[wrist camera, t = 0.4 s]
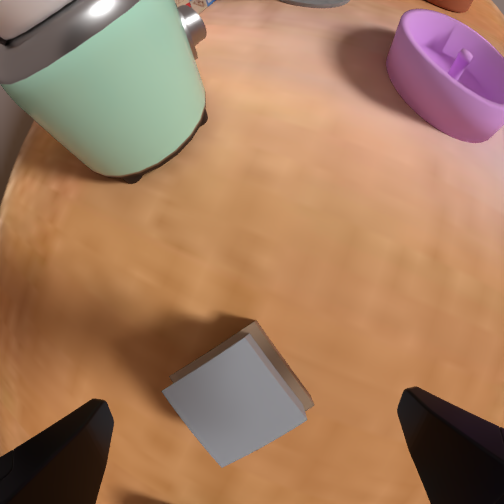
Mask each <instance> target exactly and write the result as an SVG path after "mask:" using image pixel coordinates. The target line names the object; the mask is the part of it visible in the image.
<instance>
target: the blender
mask: <svg viewBox="0 0 504 504" xmlns="http://www.w3.org/2000/svg"><path fill="white" fill-rule="evenodd" d="M205 37H206V28H205V25H204V23H203V21H202V19H201V17H200V16H199V15H198V13H197V12H196V11H195V10H194V9H192V8H191V7H189V6H187V5H181V6H179V7H177V5H176V3H175V1H174V0H0V84H1V86H2V87H3V89H4V90H5V91H6V92H7V94H8V95H9V96H10V97H11V98H12V99H13V100H14V101H15V103H16V104H17V105H18V106H20V107H21V108H22V109H23V110H24V111H25V112H26V113H27V114H28V115H29V116H30V117H32V118H33V119H34V120H35V121H36V122H37V123H38V124H39V125H40V126H42V127H43V128H44V129H45V130H46V131H47V132H48V133H49V134H51V135H52V136H53V137H54V138H55V139H56V140H57V141H58V142H60V143H61V144H62V145H63V146H64V147H65V148H67V149H68V150H69V151H70V152H71V153H72V154H73V155H75V156H76V157H77V158H78V159H79V160H80V161H82V162H83V163H84V164H85V165H86V166H87V167H89V168H90V169H91V170H92V171H94V172H96V173H99V174H101V175H104V176H107V177H110V178H123V179H124V180H125V181H126V182H127V183H130V184H133V183H136V182H138V181H139V180H140V179H141V177H142V175H143V174H145V173H147V172H149V171H152V170H154V169H156V168H158V167H160V166H162V165H163V164H165V163H166V162H168V161H169V160H170V159H172V158H173V157H175V156H176V155H177V154H178V153H179V152H180V151H181V150H182V149H183V148H184V147H185V146H186V145H187V144H188V143H189V142H190V141H191V140H192V138H193V137H194V135H195V133H196V132H197V130H198V128H199V127H200V126H202V125H204V124H205V123H206V122H207V119H208V116H207V112H206V109H205V108H206V98H205V89H204V86H203V83H202V80H201V77H200V74H199V71H198V68H197V65H196V62H195V60H196V59H197V58H198V57H197V52H196V49H195V45H197V44H198V43H199V42H200V41H202V40H203V39H204V38H205Z"/></svg>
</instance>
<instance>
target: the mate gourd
mask: <svg viewBox="0 0 504 504" xmlns="http://www.w3.org/2000/svg"><path fill="white" fill-rule="evenodd" d="M279 1H282V2H285V3H288V4H292V5H296V6H303V7H311V8H332V7H339V6H342V5H345V4H346V3H348V2H349V1H350V0H279Z"/></svg>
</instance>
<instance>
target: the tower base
mask: <svg viewBox="0 0 504 504" xmlns="http://www.w3.org/2000/svg"><path fill="white" fill-rule="evenodd" d="M249 333H250V335H251V336H252V337H253V339H254V340H255V341H256V343H257V344H258V346H259V347H260V348H261V350H262V351H263V352H264V354H265V355H266V357H267V358H268V359H269V361H270V362H271V363H272V365H273V366H274V367H275V369H276V370H277V371H278V373H279V374H280V375H281V377H282V378H283V379H284V381H285V382H286V383H287V385H288V386H289V387H290V388H291V390H292V391H293V392H294V394H295V395H296V396H297V398H298V399H299V400H300V401H301V403H302V404H303V407H304V410H305V411H307V410H308V409H310V408H311V407H313V406H314V403H313V400H312V398H311V396H310V394H309V393H308V391H307V390H306V389H305V387H304V386H303V385H302V383H301V382H300V380H299V379H298V378H297V376H296V375H295V374H294V372H293V371H292V370H291V368H290V367H289V365H288V364H287V363H286V361H285V360H284V358H283V357H282V356H281V354H280V353H279V351H278V350H277V349H276V347H275V346H274V344H273V343H272V342H271V340H270V339H269V337H268V336H267V335H266V333H265V332H264V330H263V329H262V328H261V326H260V325H259V323H258V322H257V320H256V321H254V322H253V323H251V324H250V325H248V326H247V327H245V328H244V329H242V330H241V331H239V332H238V333H236V334H235V335H233V336H232V337H230V338H229V339H227V340H226V341H224V342H223V343H221V344H220V345H218V346H217V347H215V348H214V349H212V350H210V351H209V352H207V353H206V354H204V355H203V356H201V357H199V358H198V359H196V360H195V361H193V362H192V363H190V364H188V365H187V366H185V367H184V368H182V369H180V370H179V371H177V372H175V373H174V374H172V375H171V376H169V377H170V379H171V380H172V382H173V383H175V382H176V381H178V380H179V379H181V378H183V377H184V376H186V375H187V374H189V373H191V372H192V371H194V370H195V369H197V368H198V367H200V366H201V365H203V364H205V363H206V362H208V361H209V360H211V359H212V358H214V357H215V356H217V355H218V354H220V353H221V352H223V351H224V350H226V349H227V348H229V347H230V346H232V345H233V344H235V343H236V342H238V341H239V340H241V339H242V338H243V337H245V336H246V335H248V334H249Z"/></svg>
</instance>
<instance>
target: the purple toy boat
mask: <svg viewBox="0 0 504 504" xmlns="http://www.w3.org/2000/svg"><path fill="white" fill-rule="evenodd" d="M386 67H387V72H388V75H389V78H390V80H391V82H392V84H393V86H394V87H395V89H396V91H397V92H398V93H399V95H400V96H401V97H402V98H403V100H404V101H405V102H406V103H407V104H408V105H409V106H410V107H411V108H412V109H413V110H414V111H415V112H416V113H417V114H418V115H419V116H421V117H422V118H423V119H424V120H425V121H426V122H428V123H429V124H431V125H432V126H434V127H435V128H437V129H438V130H440V131H442V132H443V133H445V134H447V135H449V136H451V137H453V138H456V139H459V140H461V141H465V142H470V143H481V142H484V141H486V140H488V139H489V138H490V137H491V136H493V135H494V134H495V133H496V132H497V131H498V130H499V129H500V128H501V127H502V126H503V125H504V58H503V56H502V55H501V54H500V53H499V52H498V51H497V50H496V49H495V48H494V47H493V46H492V45H491V44H490V43H489V42H488V41H487V40H486V39H485V38H483V37H482V36H481V35H480V34H478V33H477V32H476V31H474V30H473V29H471V28H470V27H468V26H467V25H465V24H463V23H461V22H460V21H458V20H456V19H454V18H452V17H449V16H447V15H445V14H442V13H439V12H436V11H432V10H427V9H412V10H409V11H407V12H405V13H404V14H403V15H402V17H401V19H400V22H399V25H398V28H397V31H396V33H395V36H394V39H393V42H392V45H391V47H390V50H389V53H388V56H387V61H386Z"/></svg>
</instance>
